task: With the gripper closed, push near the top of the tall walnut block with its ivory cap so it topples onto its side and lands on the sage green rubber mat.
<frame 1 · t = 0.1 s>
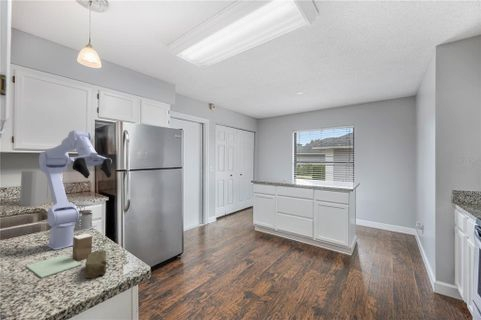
hand: (99, 175, 81), 32 cm above the counter, tool tilted 50°, fingers open, 7 cm apart
tall grey box: (34, 205, 179), on the counter
french press: (82, 229, 119), on the counter
sage mat: (54, 265, 76), on the counter
walnut block: (81, 257, 84), on the counter
stone block: (95, 271, 74), on the counter
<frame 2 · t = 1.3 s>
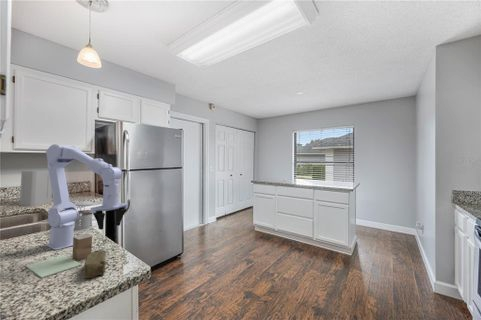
hand: (109, 227, 92), 9 cm above the counter, tool pointing down, fingers open, 6 cm apart
nothing on the counter moved.
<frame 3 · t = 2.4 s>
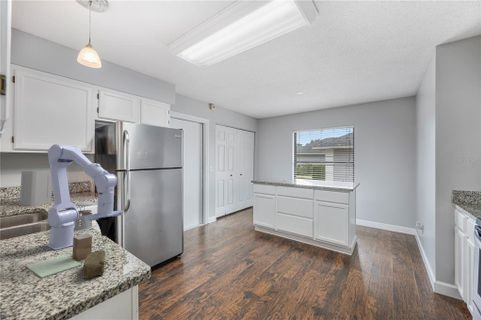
hand: (104, 235, 91), 6 cm above the counter, tool pointing down, fingers closed
nothing on the counter moved.
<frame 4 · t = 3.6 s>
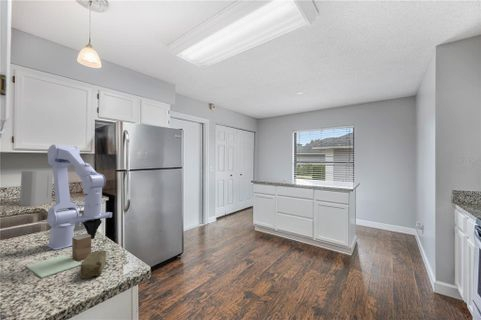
hand: (91, 238, 86), 6 cm above the counter, tool pointing down, fingers closed
walnut block: (81, 257, 84), on the counter, touching gripper
everything else where it was.
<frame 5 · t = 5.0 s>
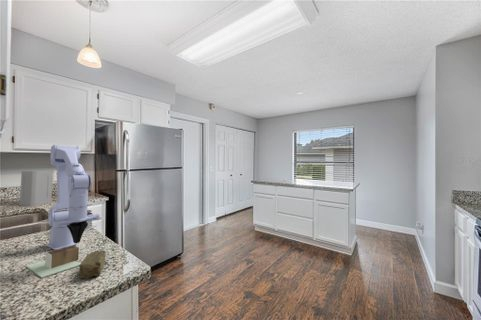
hand: (76, 242, 82), 6 cm above the counter, tool pointing down, fingers closed
walnut block: (75, 252, 82), point 3 cm above the counter, tilted 90°, touching sage mat
everything else where it was.
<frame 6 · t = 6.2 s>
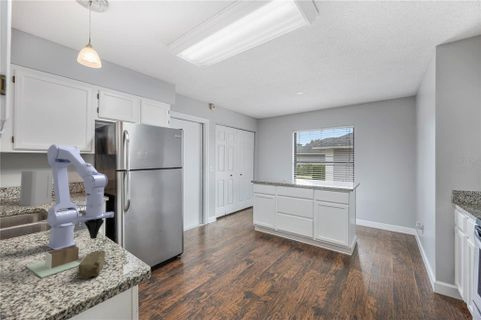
hand: (93, 238, 87), 6 cm above the counter, tool pointing down, fingers closed
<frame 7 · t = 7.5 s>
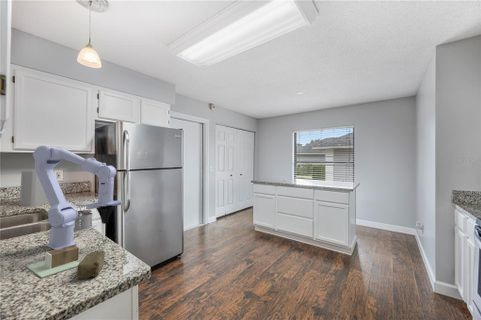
hand: (104, 223, 96), 10 cm above the counter, tool pointing down, fingers closed
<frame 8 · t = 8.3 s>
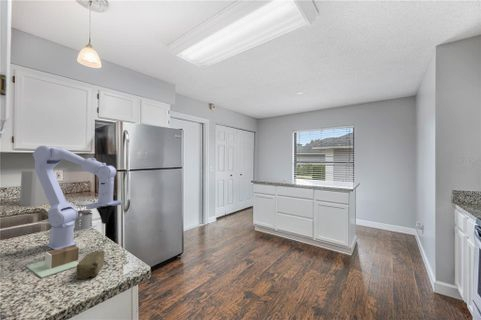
hand: (104, 223, 96), 10 cm above the counter, tool pointing down, fingers closed
at the end: walnut block tilted 90°; walnut block touching sage mat; walnut block inside the target area (0.4 cm from its centre), point 2.6 cm above the counter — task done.
